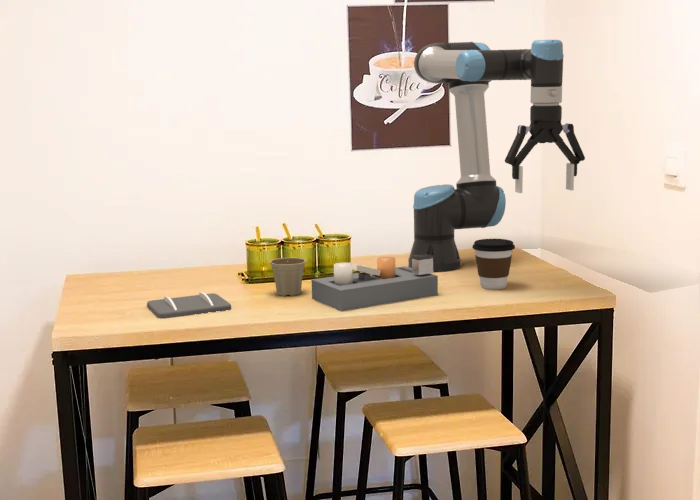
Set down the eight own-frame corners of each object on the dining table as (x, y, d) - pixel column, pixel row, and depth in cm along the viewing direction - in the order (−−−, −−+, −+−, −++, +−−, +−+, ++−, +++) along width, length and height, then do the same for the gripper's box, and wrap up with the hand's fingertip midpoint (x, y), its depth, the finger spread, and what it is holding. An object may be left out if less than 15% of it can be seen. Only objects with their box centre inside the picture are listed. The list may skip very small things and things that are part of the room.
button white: (331, 287, 228) (330, 263, 227) (347, 285, 230) (346, 261, 229) (340, 291, 224) (339, 266, 223) (356, 288, 226) (355, 264, 225)
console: (312, 298, 232) (311, 274, 230) (405, 284, 245) (404, 261, 244) (341, 310, 219) (340, 284, 218) (437, 295, 232) (437, 270, 231)
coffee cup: (519, 284, 242) (519, 239, 240) (508, 293, 233) (508, 246, 230) (479, 281, 247) (479, 237, 245) (466, 290, 237) (466, 244, 235)
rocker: (347, 267, 229) (348, 262, 229) (370, 272, 233) (371, 267, 233) (356, 270, 225) (357, 264, 225) (379, 275, 229) (380, 270, 229)
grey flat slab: (215, 287, 236) (232, 298, 222) (216, 299, 237) (233, 311, 223) (145, 295, 229) (158, 307, 215) (146, 307, 230) (159, 321, 216)
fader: (411, 273, 233) (411, 255, 232) (426, 270, 235) (426, 253, 234) (418, 275, 230) (418, 257, 229) (433, 272, 232) (433, 255, 232)
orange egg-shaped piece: (374, 281, 234) (373, 258, 233) (389, 278, 236) (389, 256, 235) (383, 284, 230) (383, 260, 229) (399, 282, 232) (398, 258, 231)
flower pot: (312, 290, 241) (311, 258, 240) (299, 298, 232) (297, 265, 231) (279, 288, 244) (278, 256, 243) (265, 296, 235) (263, 263, 234)
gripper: (503, 106, 218) (502, 195, 222) (600, 103, 223) (597, 190, 227) (492, 105, 225) (491, 191, 229) (585, 102, 230) (583, 186, 234)
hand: (544, 191), depth 228 cm, fingers open, 13 cm apart
